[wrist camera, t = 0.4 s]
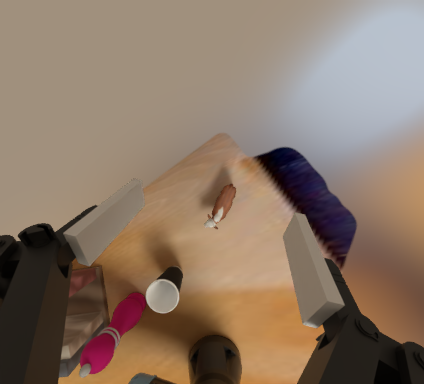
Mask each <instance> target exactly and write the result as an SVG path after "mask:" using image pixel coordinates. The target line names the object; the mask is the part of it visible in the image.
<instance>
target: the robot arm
mask: <svg viewBox="0 0 424 384" xmlns="http://www.w3.org/2000/svg"><path fill="white" fill-rule="evenodd" d="M144 206H145V201H144V193H143V185H142V180H138V179H133V180H131V181H130V182H129V183H127V184H126V185H125V186H124V187H123V188H121V189H120V190H119V191H117V192H116V193H114V194H113V195H112V196H111V197H109V198H108V199H107V200H105V201H104V202H103V203H101V204H100V205H99V206H96V205H95V206H92V207H90V208H88V209H86V210H85V211H83V212H82V213H81V214H80V215H78V216H77V217H75V219H73V220H71V221H70V222H68V223H67V224H66V225H64V226H63V227H62V228H60V229H59V230H58V231H56V232H54V231H53V228H52V227H51V225H49V224H45V223H42V224H36V225H33V226H30V227H28V228H26V229H24V230H23V231H21V232H20V233H19V235H18V237H19V238H20V240H21V241H16V240H15V239H14V237H13V236H10V235H2V236H0V384H58V378H59V370H60V362H61V354H62V346H63V338H64V330H65V322H66V314H67V306H68V298H69V290H70V282H71V274H72V261H73V260H74V259H75V258H76V259H77V261H78V263H79V264H83V265H87V266H90V265H91V264H92V263H93V262H94V261H95V260H96V259H97V258H98V257H99V255H100V254H101V253H102V252H103V251H104V250H105V249H106V248H107V247H108V246H109V244H110V243H111V242H112V241H113V240H114V239H115V238H116V237H117V236H118V234H119V233H120V232H121V231H122V230H123V229H124V228H125V227H126V226H127V225H128V223H129V222H130V221H131V220H132V219H133V218H134V217H135V216H136V215H137V213H138V212H139V211H140V210H141V209H142V208H143V207H144ZM283 239H284V244H285V248H286V253H287V257H288V261H289V266H290V270H291V275H292V279H293V283H294V288H295V292H296V297H297V301H298V305H299V310H300V314H301V319H302V323H303V325H307V326H310V327H314V328H318V327H319V326H320V325H322V324H323V327H324V330H325V332H324V333H323V334H321V335H320V336H319V337H318V338H317V339H316V340H317V341H319V342H318V344H317V346H316V348H315V350H314V351H313V353H312V355H311V357H310V359H309V361H308V363H307V365H306V367H305V369H304V371H303V373H302V375H301V377H300V379H299V381H298V383H297V384H424V348H423V347H422V346H420V345H418V344H416V343H414V342H406V343H403V344H400V343H399V342H397V341H395V340H393V339H391V338H389V337H388V336H386V335H384V334H382V333H381V332H379V330H378V328H377V327H376V326H375V324H374V323H373V322H372V321H370V319H368V318H367V317H366V316H364V315H362V314H361V312H360V310H359V308H358V306H357V304H356V302H355V300H354V299H353V296H352V295H351V292H350V290H349V288H348V286H347V285H346V282H345V280H344V278H343V277H342V274H341V272H340V270H339V268H338V267H337V266H336V265H335V263H334V262H333V261H332V260H331V259H326V258H324V257H323V255H322V253H321V250H320V248H319V246H318V243H317V241H316V239H315V237H314V234H313V232H312V230H311V228H310V225H309V223H308V221H307V219H306V216H305V215H304V214H299V213H294V215H293V217H292V219H291V221H290V223H289V225H288V227H287V229H286V231H285V233H284V235H283ZM241 374H242V365H241V358H240V354H239V351H238V349H237V348H236V346H235V345H234V344H233V343H232V342H231V341H230V340H228V339H227V338H224V337H222V336H216V335H212V336H207V337H204V338H202V339H201V340H199V341H198V342H197V343H196V344H195V345H194V347H193V349H192V351H191V354H190V359H189V377H190V384H240V380H241ZM128 384H175V383H173V382H170V381H167V380H164V379H161V378H159V377H157V375H154V376H153V375H149V374H145V373H138V374H137V375H135V376H134V377H133V378H132V379H131V381H130V382H129V383H128Z"/></svg>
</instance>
